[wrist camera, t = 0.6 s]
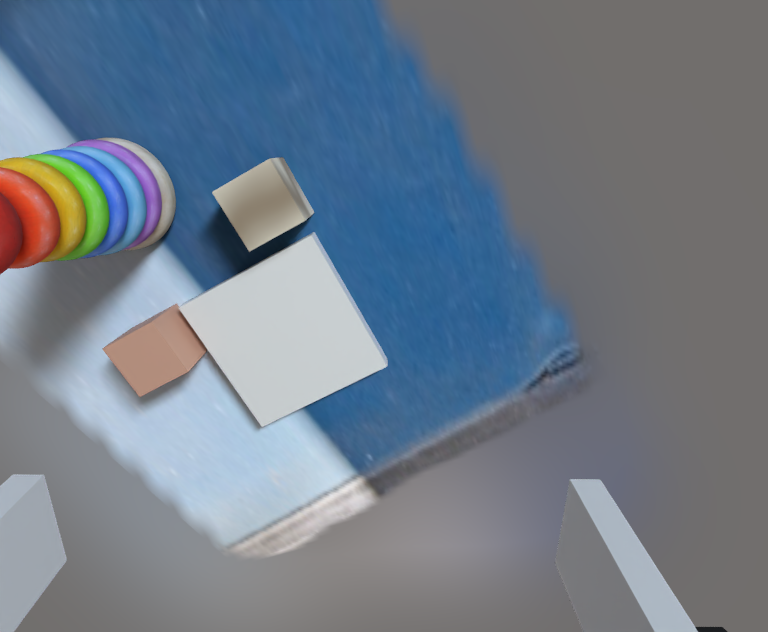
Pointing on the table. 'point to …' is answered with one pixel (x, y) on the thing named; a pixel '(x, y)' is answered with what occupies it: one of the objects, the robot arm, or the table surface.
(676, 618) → the robot arm
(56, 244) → the stacking toy
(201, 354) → the terracotta block
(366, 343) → the white square slab
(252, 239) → the birch block
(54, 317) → the table surface
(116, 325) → the table surface
